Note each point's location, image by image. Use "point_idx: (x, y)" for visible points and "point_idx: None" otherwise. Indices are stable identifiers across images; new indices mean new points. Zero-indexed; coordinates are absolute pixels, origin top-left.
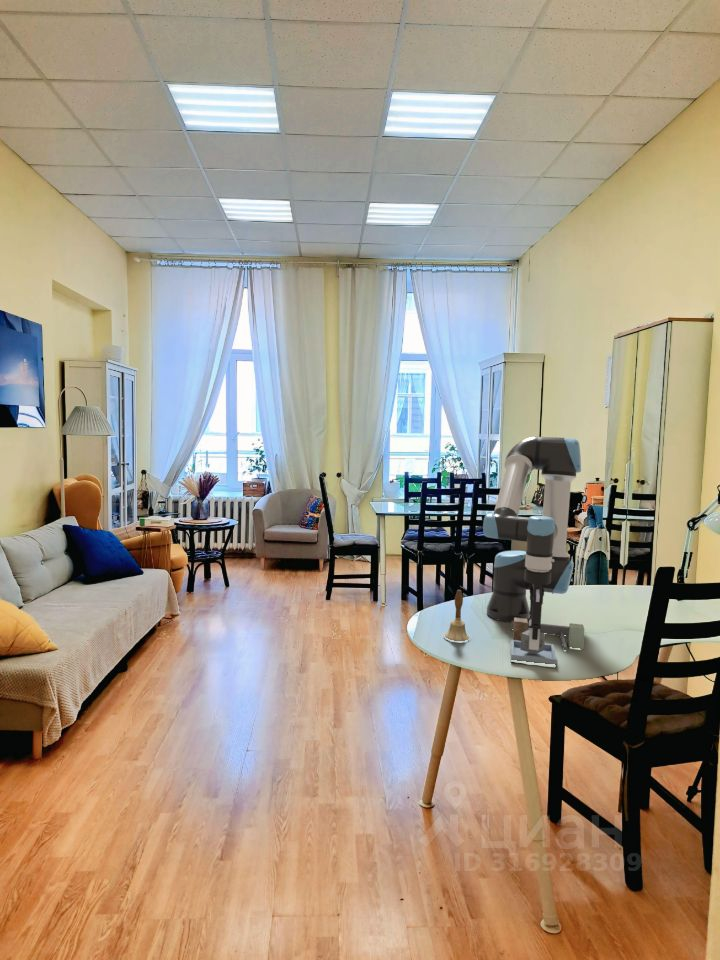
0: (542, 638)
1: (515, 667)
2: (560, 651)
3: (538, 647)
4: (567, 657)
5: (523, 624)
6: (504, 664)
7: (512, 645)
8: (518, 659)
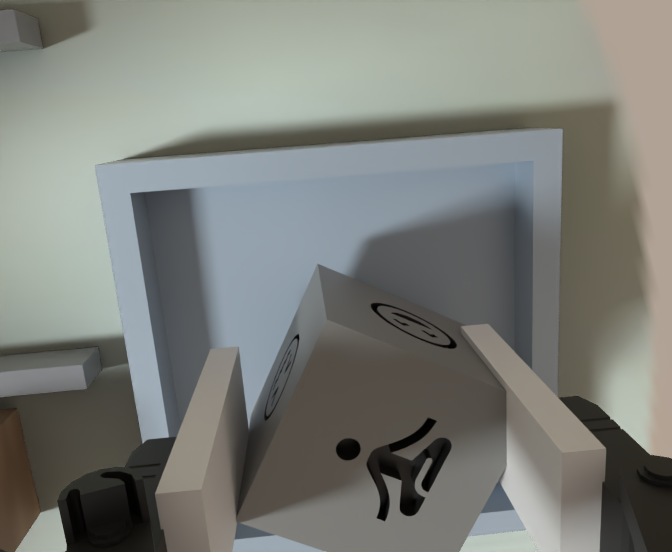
0: (383, 327)
1: None
2: (50, 83)
3: (496, 337)
4: (196, 12)
5: None
6: None
7: None
8: None
